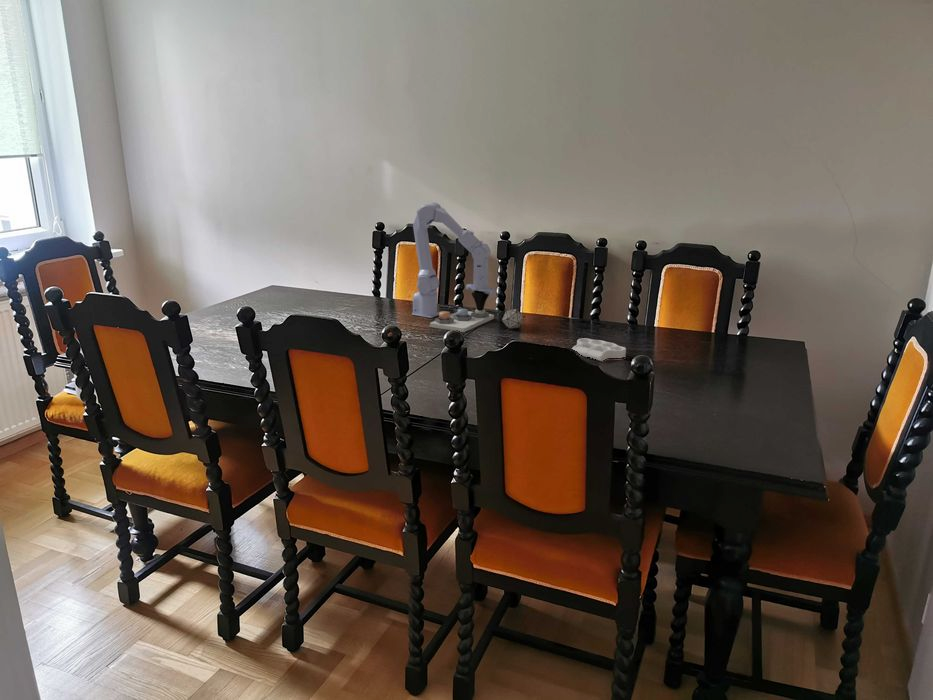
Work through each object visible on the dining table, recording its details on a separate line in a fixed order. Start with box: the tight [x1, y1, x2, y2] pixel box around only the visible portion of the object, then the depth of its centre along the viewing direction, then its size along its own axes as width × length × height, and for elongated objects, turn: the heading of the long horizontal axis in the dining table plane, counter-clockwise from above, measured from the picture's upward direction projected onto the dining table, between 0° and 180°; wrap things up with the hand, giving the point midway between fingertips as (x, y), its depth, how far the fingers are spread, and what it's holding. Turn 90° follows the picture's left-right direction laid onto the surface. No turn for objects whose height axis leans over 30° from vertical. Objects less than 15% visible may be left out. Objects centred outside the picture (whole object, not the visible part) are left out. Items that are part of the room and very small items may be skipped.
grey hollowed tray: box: [571, 337, 627, 362], centre depth 233 cm, size 3×18×15 cm
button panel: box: [429, 310, 495, 333], centre depth 269 cm, size 15×24×3 cm, turn 151°
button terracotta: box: [438, 310, 451, 320], centre depth 264 cm, size 4×4×2 cm
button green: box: [474, 308, 486, 315], centre depth 273 cm, size 4×4×2 cm
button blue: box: [456, 308, 469, 317], centre depth 268 cm, size 4×4×2 cm
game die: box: [499, 307, 526, 331], centre depth 260 cm, size 9×8×10 cm
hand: (480, 310), depth 273 cm, fingers closed, pressing on button green
